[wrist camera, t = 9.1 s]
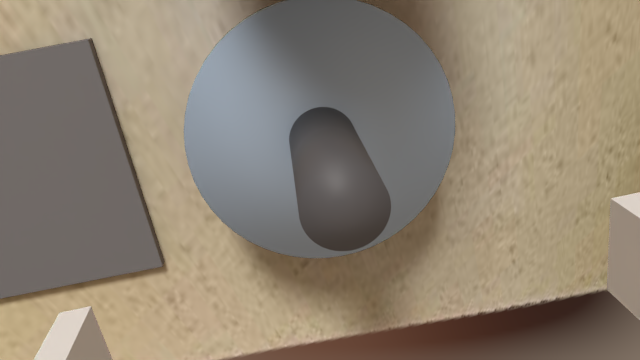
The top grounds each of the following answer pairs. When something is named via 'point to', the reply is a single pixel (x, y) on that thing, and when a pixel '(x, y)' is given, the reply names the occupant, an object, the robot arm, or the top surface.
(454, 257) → the top surface
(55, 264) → the mat
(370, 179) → the lid
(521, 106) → the top surface
